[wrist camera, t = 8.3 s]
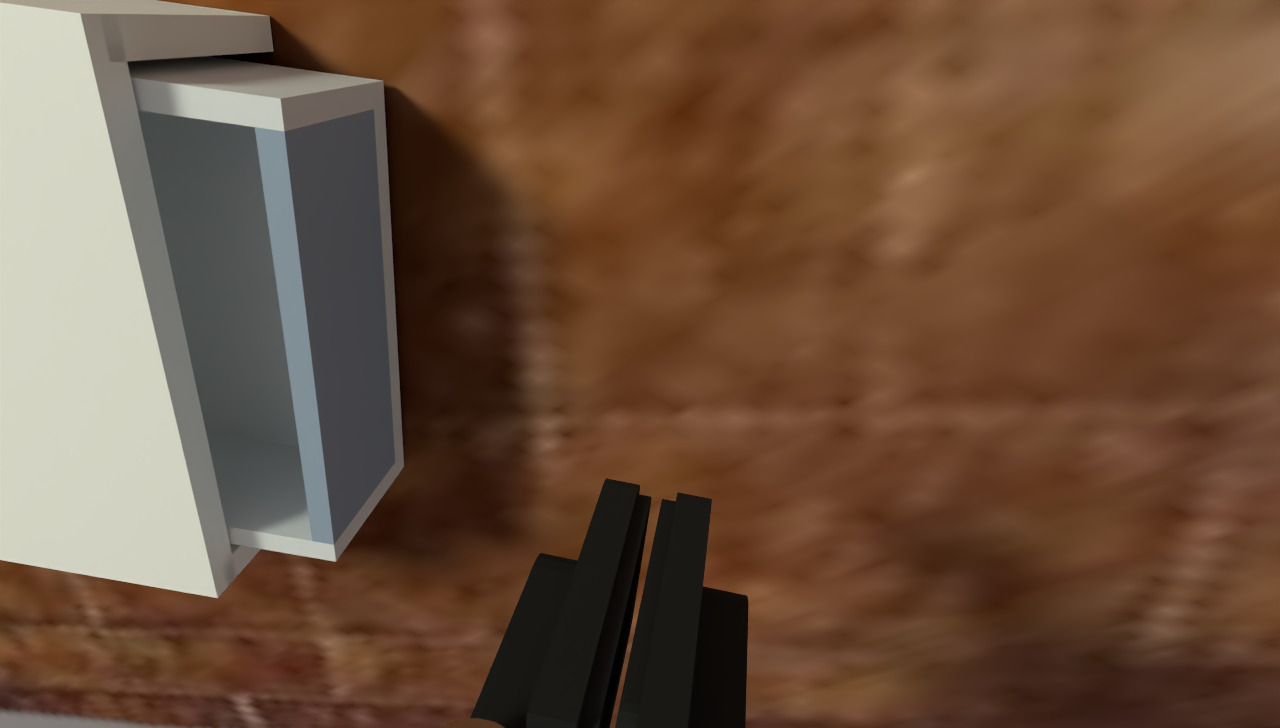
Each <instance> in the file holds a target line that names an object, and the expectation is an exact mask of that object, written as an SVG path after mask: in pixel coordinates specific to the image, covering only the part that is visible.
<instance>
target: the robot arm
mask: <svg viewBox="0 0 1280 728" xmlns="http://www.w3.org/2000/svg"><path fill="white" fill-rule="evenodd" d="M639 491H640V485H637V484H632V483H626V482H621V481H616V480H611V479H606V480H605V482H604V484H603V487H602V490H601V493H600V496H599V499H598V502H597V505H596V508H595V511H594V514H593V517H592V520H591V523H590V526H589V529H588V532H587V535H586V538H585V541H584V544H583V547H582V550H581V553H580V556H579V559H578V561H577V560H572V559H567V558H562V557H557V556H552V555H547V554H543V553H540V554H539V556H538V557H537V559H536V561H535V563H534V565H533V568H532V570H531V572H530V575H529V577H528V580H527V582H526V585H525V587H524V589H523V592H522V594H521V597H520V599H519V601H518V604H517V606H516V609H515V611H514V614H513V616H512V618H511V621H510V623H509V626H508V628H507V631H506V633H505V635H504V638H503V640H502V643H501V645H500V648H499V650H498V652H497V655H496V657H495V660H494V662H493V665H492V667H491V669H490V672H489V674H488V677H487V679H486V682H485V684H484V686H483V689H482V691H481V694H480V696H479V699H478V701H477V703H476V706H475V708H474V711H473V713H472V716H471V718H470V719H458V720H455V721H452V722H450V723H447V724H444V725H441V726H439V727H437V728H610V724H611V719H612V714H613V710H614V705H615V700H616V696H617V691H618V686H619V682H620V677H621V672H622V668H623V663H624V658H625V653H626V649H627V644H628V639H629V635H630V629H631V624H632V619H633V613H634V606H635V600H636V593H637V587H638V581H639V574H640V568H641V562H642V555H643V549H644V543H645V536H646V530H647V523H648V517H649V511H650V504H651V497H649V496H644V495H639ZM711 502H712V499H709V498H703V497H698V496H693V495H688V494H683V493H677V498H676V502H675V501H670V500H664V499H662V503H661V507H660V512H659V517H658V522H657V527H656V532H655V537H654V541H653V546H652V551H651V556H650V561H649V566H648V570H647V575H646V580H645V585H644V590H643V595H642V600H641V604H640V609H639V614H638V619H637V624H636V629H635V634H634V638H633V643H632V648H631V653H630V658H629V663H628V668H627V672H626V677H625V682H624V687H623V692H622V697H621V701H620V706H619V711H618V717H617V722H616V727H615V728H745V717H746V678H747V639H748V598H747V596H746V595H741V594H736V593H731V592H727V591H722V590H717V589H712V588H707V587H703V579H704V569H705V560H706V550H707V541H708V532H709V522H710V513H711Z"/></svg>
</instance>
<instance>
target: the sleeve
mask: <svg viewBox="0 0 1280 728" xmlns="http://www.w3.org/2000/svg"><path fill="white" fill-rule="evenodd" d="M259 52H274V50H273V42H272V34H271V25H270V17H269V16H267V15H260V14H252V13H245V12H237V11H230V10H223V9H215V8H208V7H201V6H193V5H186V4H179V3H171V2H164V1H157V0H0V560H4V561H10V562H15V563H21V564H27V565H33V566H38V567H44V568H50V569H55V570H61V571H67V572H72V573H78V574H84V575H89V576H95V577H101V578H107V579H112V580H118V581H124V582H129V583H135V584H141V585H146V586H152V587H158V588H163V589H169V590H175V591H180V592H186V593H192V594H198V595H203V596H209V597H215V598H218V597H219V596H220V595H221V594H222V593H223V591H224V590H225V589H226V588H227V587H228V586H229V585H230V583H231V582H232V581H233V580H234V579H235V578H236V577H237V575H238V574H239V573H240V572H241V571H242V570H243V569H244V568H245V566H246V565H247V564H248V563H249V562H250V561H251V560H252V558H253V557H254V556H255V555H256V554H257V553H258V552H259V550H260V549H259V548H254V547H248V546H242V545H236V544H230V542H229V538H228V533H227V528H226V524H225V519H224V514H223V509H222V505H221V500H220V495H219V491H218V486H217V481H216V477H215V472H214V467H213V463H212V458H211V453H210V448H209V444H208V439H207V434H206V430H205V425H204V420H203V416H202V411H201V406H200V401H199V397H198V392H197V387H196V383H195V378H194V373H193V369H192V364H191V359H190V355H189V350H188V345H187V340H186V336H185V331H184V326H183V322H182V317H181V312H180V308H179V303H178V298H177V294H176V289H175V284H174V279H173V275H172V270H171V265H170V261H169V256H168V251H167V247H166V242H165V237H164V232H163V228H162V223H161V218H160V214H159V209H158V204H157V200H156V195H155V190H154V186H153V181H152V176H151V171H150V167H149V162H148V157H147V153H146V148H145V143H144V139H143V134H142V129H141V125H140V120H139V115H138V110H137V106H136V101H135V96H134V92H133V87H132V82H131V78H130V73H129V68H128V63H127V61H140V60H154V59H169V58H184V57H199V56H214V55H229V54H244V53H259Z"/></svg>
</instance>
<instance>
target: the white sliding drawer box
mask: <svg viewBox="0 0 1280 728" xmlns="http://www.w3.org/2000/svg"><path fill="white" fill-rule="evenodd" d="M127 63H128V68H129V73H130V78H131V82H132V87H133V92H134V96H135V101H136V106H137V110H138V115H139V120H140V125H141V129H142V134H143V139H144V143H145V148H146V153H147V157H148V162H149V167H150V171H151V176H152V181H153V186H154V190H155V195H156V200H157V204H158V209H159V214H160V218H161V223H162V228H163V232H164V237H165V242H166V247H167V251H168V256H169V261H170V265H171V270H172V275H173V279H174V284H175V289H176V294H177V298H178V303H179V308H180V312H181V317H182V322H183V326H184V331H185V336H186V340H187V345H188V350H189V355H190V359H191V364H192V369H193V373H194V378H195V383H196V387H197V392H198V397H199V401H200V406H201V411H202V416H203V420H204V425H205V430H206V434H207V439H208V444H209V448H210V453H211V458H212V463H213V467H214V472H215V477H216V481H217V486H218V491H219V495H220V500H221V505H222V509H223V514H224V519H225V524H226V528H227V533H228V538H229V542H230V544H236V545H242V546H248V547H254V548H259V549H265V550H271V551H277V552H283V553H289V554H294V555H300V556H306V557H312V558H318V559H323V560H329V561H335V562H336V561H337V560H338V558H339V557H340V555H341V554H342V553H343V551H344V550H345V548H346V547H347V546H348V544H349V543H350V541H351V540H352V539H353V537H354V536H355V534H356V533H357V532H358V530H359V529H360V527H361V526H362V525H363V523H364V522H365V520H366V519H367V518H368V516H369V515H370V514H371V512H372V511H373V509H374V508H375V507H376V505H377V504H378V502H379V501H380V500H381V498H382V497H383V495H384V494H385V493H386V491H387V490H388V488H389V487H390V486H391V484H392V483H393V481H394V480H395V479H396V477H397V476H398V474H399V473H400V472H401V470H402V469H403V467H404V457H403V438H402V419H401V401H400V382H399V363H398V345H397V326H396V307H395V289H394V270H393V251H392V232H391V214H390V195H389V176H388V158H387V139H386V120H385V102H384V83H383V81H382V80H375V79H368V78H360V77H353V76H346V75H339V74H332V73H324V72H317V71H310V70H303V69H296V68H289V67H281V66H274V65H267V64H260V63H253V62H246V61H238V60H231V59H224V58H217V57H210V56H199V57H184V58H169V59H154V60H140V61H127Z"/></svg>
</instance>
